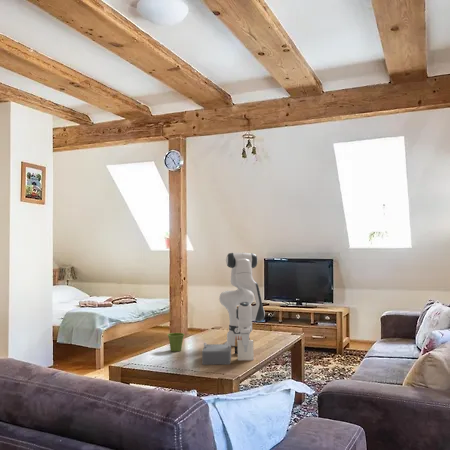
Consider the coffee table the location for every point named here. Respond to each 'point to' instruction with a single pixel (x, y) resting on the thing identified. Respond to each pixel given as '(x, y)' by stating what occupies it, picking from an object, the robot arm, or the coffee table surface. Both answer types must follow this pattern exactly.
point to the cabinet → (216, 354)
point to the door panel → (245, 355)
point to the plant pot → (175, 341)
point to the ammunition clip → (237, 343)
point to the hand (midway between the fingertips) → (245, 350)
